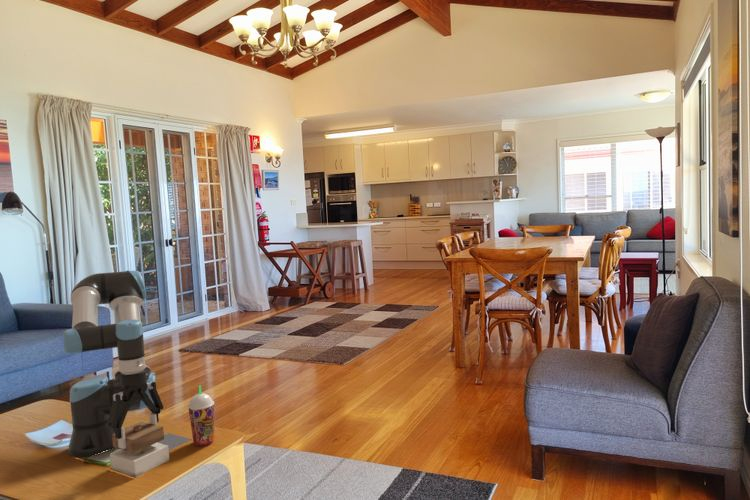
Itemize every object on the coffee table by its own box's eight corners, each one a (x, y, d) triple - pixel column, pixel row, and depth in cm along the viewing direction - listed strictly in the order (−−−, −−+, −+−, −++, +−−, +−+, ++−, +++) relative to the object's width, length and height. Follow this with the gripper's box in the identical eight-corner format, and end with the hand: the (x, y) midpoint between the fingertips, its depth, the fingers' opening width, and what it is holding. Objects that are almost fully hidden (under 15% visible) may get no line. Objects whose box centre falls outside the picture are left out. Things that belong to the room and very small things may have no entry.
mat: (139, 447, 187) (138, 446, 187) (168, 434, 197) (168, 432, 197) (162, 454, 181) (162, 453, 181) (192, 440, 191) (191, 439, 191)
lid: (113, 446, 171) (111, 430, 171) (142, 433, 180) (141, 417, 180) (134, 453, 166) (132, 436, 165) (164, 439, 175) (162, 423, 174)
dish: (111, 469, 172) (109, 453, 171) (145, 453, 182) (143, 438, 182) (135, 477, 166) (134, 461, 165) (169, 461, 176) (168, 445, 175)
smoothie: (209, 449, 183) (205, 390, 181) (186, 448, 184) (181, 389, 183) (221, 438, 191) (217, 381, 189) (199, 437, 193) (194, 381, 191)
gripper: (105, 383, 159) (111, 458, 161) (172, 362, 179) (177, 429, 181) (89, 380, 163) (96, 453, 165) (156, 359, 183) (162, 425, 185)
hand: (138, 440), depth 173 cm, fingers closed on lid, 10 cm apart
